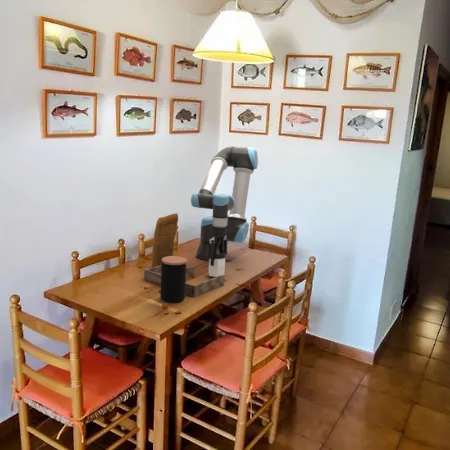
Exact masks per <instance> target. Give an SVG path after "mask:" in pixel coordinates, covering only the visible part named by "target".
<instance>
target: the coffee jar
mask: <svg viewBox="0 0 450 450" xmlns="http://www.w3.org/2000/svg"><path fill="white" fill-rule="evenodd" d="M162 262H163V263H162V266H161V286H160V298H161V301H163V302H165V303H169V304H177V303H181V302H183V301H184V299H185V298H186V294H185V283H187V282H186V280H187V278H186V268H187V264H186V263H187V259H186V258H185V257H183V256H178V255H173V256H167V257H163V258H162Z"/></svg>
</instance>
